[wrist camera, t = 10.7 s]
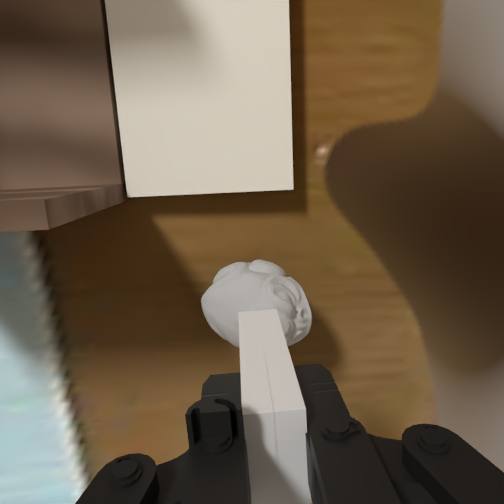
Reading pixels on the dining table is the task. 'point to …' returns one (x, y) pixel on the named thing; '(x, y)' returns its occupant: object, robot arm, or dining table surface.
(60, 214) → the crate
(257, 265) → the white sculpted head
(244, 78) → the panel
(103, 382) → the dining table surface
